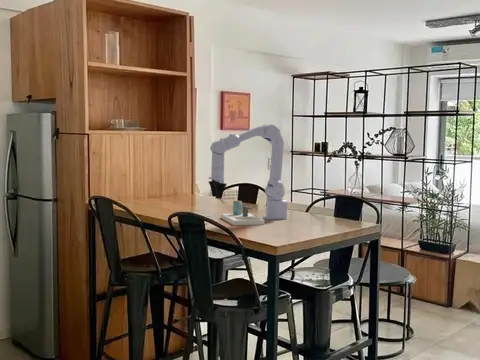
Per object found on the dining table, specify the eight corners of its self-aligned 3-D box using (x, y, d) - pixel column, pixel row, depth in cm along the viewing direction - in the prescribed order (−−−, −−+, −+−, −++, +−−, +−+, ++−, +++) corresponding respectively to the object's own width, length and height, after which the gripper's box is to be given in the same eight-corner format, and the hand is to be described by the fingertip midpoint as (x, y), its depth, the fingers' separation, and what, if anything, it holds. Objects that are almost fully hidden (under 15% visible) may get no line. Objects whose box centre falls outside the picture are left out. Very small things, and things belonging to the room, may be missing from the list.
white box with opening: (249, 217, 256) (249, 203, 255) (264, 224, 237) (264, 209, 236) (220, 217, 252) (221, 204, 251) (233, 225, 233) (234, 210, 232)
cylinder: (240, 213, 253) (240, 200, 253) (242, 214, 249) (243, 201, 249) (231, 213, 252) (232, 200, 251) (234, 215, 248) (234, 201, 248)
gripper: (205, 166, 251) (204, 195, 253) (213, 168, 238) (212, 199, 239) (219, 166, 254) (219, 195, 255) (228, 168, 240) (227, 199, 241)
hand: (216, 197), depth 247 cm, fingers open, 7 cm apart
